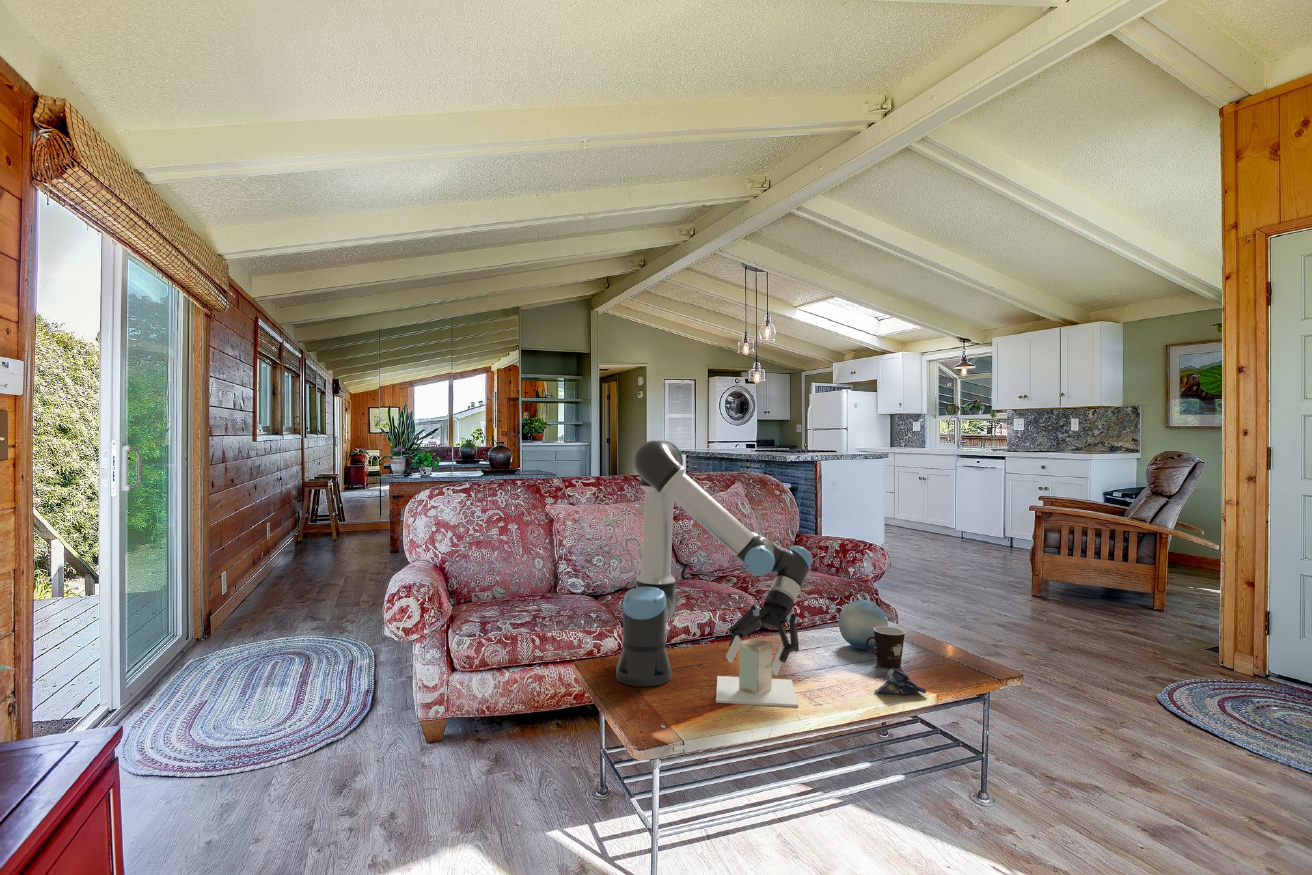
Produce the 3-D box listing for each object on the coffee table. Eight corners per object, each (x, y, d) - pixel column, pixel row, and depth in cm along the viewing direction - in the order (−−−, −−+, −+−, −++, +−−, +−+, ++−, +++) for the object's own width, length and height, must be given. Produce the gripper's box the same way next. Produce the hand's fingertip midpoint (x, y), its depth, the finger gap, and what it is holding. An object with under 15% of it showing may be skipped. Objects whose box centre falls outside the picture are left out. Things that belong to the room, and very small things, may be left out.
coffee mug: (900, 660, 196) (900, 626, 196) (908, 670, 188) (908, 635, 188) (860, 658, 197) (860, 625, 197) (866, 668, 189) (866, 633, 189)
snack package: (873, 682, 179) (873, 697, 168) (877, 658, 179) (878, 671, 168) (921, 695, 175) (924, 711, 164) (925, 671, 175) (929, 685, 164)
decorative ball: (898, 650, 205) (898, 602, 205) (865, 658, 197) (866, 608, 197) (860, 638, 218) (860, 593, 218) (828, 645, 210) (828, 598, 210)
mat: (715, 702, 163) (715, 699, 163) (717, 678, 180) (717, 675, 180) (798, 706, 161) (798, 704, 161) (791, 681, 178) (791, 679, 178)
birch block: (738, 689, 170) (738, 643, 170) (752, 683, 175) (752, 637, 175) (757, 696, 166) (758, 648, 166) (771, 689, 171) (771, 642, 171)
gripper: (828, 613, 174) (799, 685, 162) (748, 597, 190) (717, 662, 179) (818, 596, 170) (788, 669, 158) (738, 582, 186) (705, 647, 175)
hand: (750, 665), depth 169 cm, fingers open, 13 cm apart
